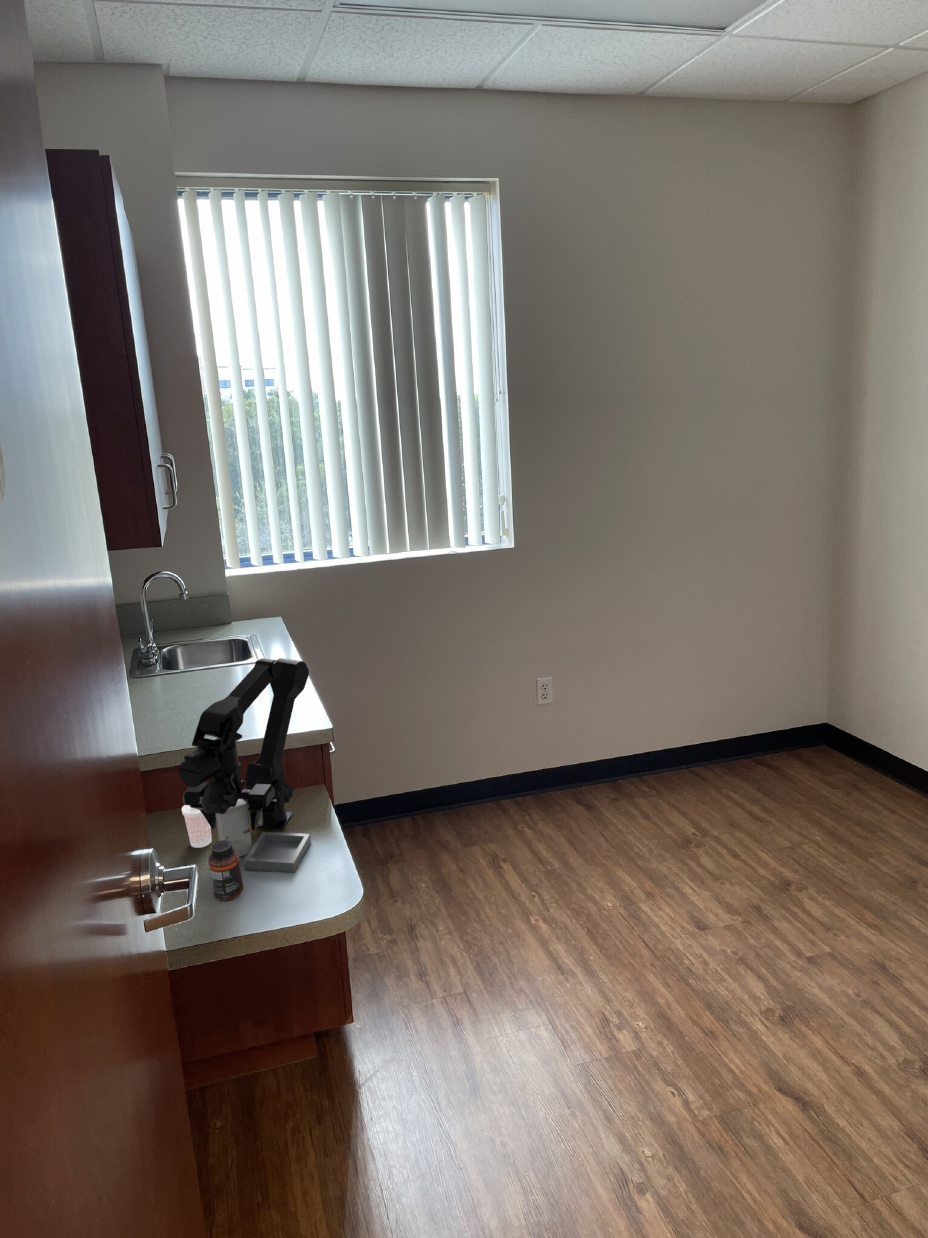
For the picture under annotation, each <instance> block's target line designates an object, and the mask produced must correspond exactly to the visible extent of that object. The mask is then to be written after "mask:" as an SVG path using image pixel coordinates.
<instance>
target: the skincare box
mask: <svg viewBox="0 0 928 1238" xmlns="http://www.w3.org/2000/svg"><path fill="white" fill-rule="evenodd" d="M215 816H216V827H217V833H218V834H217V835H218V841H221V840H227V841H230V842H231V844H232V849H234V850H236V851H237V853H238V856H239V858H240V857H242V856H245V855H246V856H247V855H248V853H249V852H250V850H251V849H252V847H253V846H252V838H251V831H250V830H251V829H250V827H251V826H250V820H249V819H250V818H249V811H248V802H246V801H245V799H238V801H237V803H236V806H235V807H230V808H229V809H228V810H227V812H226V813H224V814H218V813H215Z"/></svg>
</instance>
